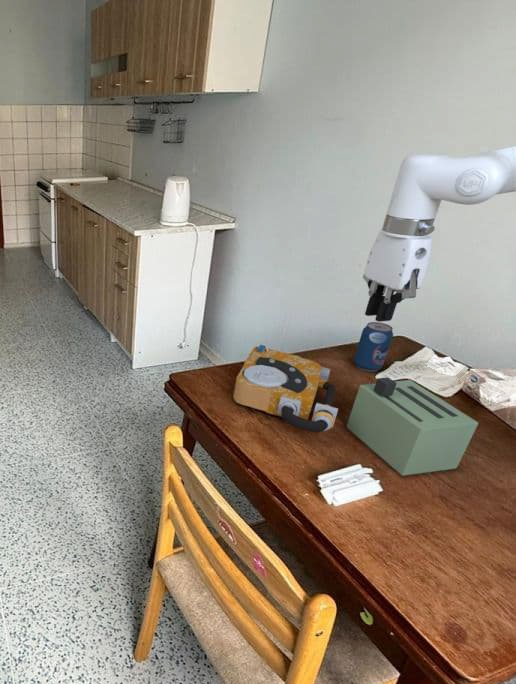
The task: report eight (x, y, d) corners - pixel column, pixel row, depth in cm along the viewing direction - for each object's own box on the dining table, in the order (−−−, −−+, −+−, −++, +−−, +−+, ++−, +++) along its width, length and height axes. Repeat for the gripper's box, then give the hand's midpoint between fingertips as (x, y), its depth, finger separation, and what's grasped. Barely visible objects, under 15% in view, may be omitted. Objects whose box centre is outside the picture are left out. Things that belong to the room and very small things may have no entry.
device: (350, 357, 116) (336, 418, 94) (341, 386, 120) (326, 450, 98) (255, 337, 127) (223, 387, 105) (250, 364, 131) (218, 418, 109)
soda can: (375, 375, 125) (388, 334, 119) (347, 365, 129) (360, 325, 124) (385, 367, 128) (399, 326, 123) (359, 358, 133) (371, 318, 127)
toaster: (394, 421, 106) (410, 379, 101) (456, 468, 92) (479, 422, 87) (346, 427, 105) (360, 384, 100) (402, 475, 91) (421, 429, 86)
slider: (383, 389, 97) (388, 377, 96) (392, 395, 95) (397, 382, 94) (373, 390, 97) (377, 378, 96) (381, 396, 95) (386, 384, 94)
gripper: (463, 235, 81) (426, 332, 89) (392, 216, 95) (366, 302, 103) (424, 237, 80) (390, 335, 88) (358, 218, 94) (335, 305, 102)
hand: (377, 317), depth 96 cm, fingers closed
